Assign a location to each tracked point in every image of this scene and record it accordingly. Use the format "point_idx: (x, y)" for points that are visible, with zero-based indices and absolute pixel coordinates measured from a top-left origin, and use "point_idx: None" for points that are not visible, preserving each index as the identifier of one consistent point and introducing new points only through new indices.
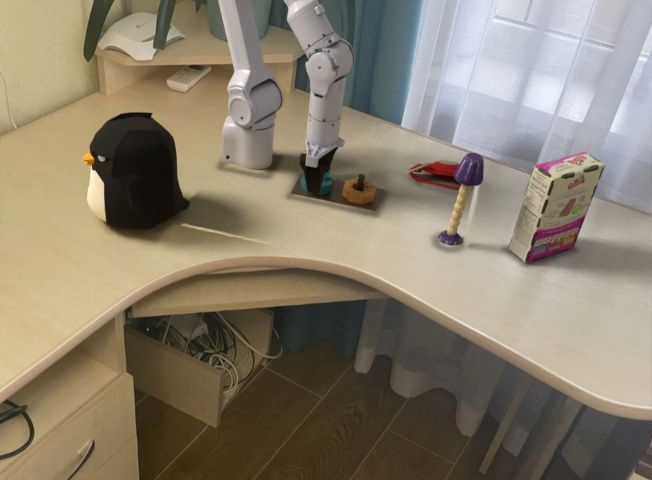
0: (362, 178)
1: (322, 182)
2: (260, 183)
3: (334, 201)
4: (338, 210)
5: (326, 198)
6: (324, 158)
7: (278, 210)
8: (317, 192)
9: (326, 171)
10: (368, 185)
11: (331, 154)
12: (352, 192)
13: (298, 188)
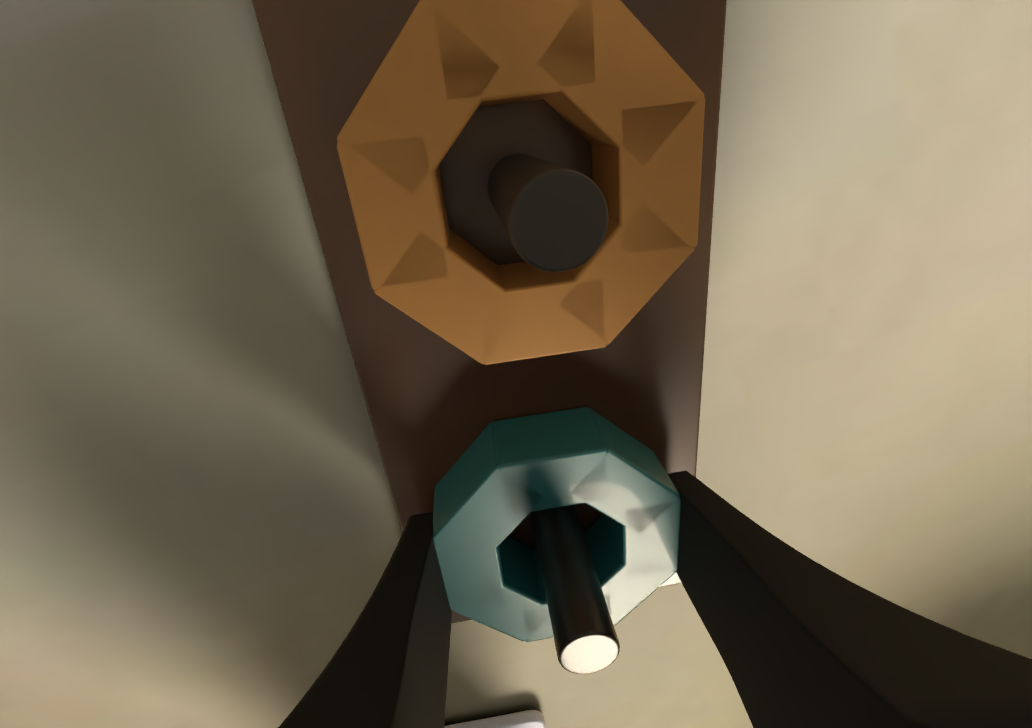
0: (598, 191)
1: (612, 509)
2: (606, 696)
3: (693, 335)
4: (734, 270)
5: (672, 398)
6: (426, 683)
7: (824, 550)
8: (695, 478)
9: (435, 549)
10: (450, 114)
11: (404, 705)
12: (677, 234)
13: None
